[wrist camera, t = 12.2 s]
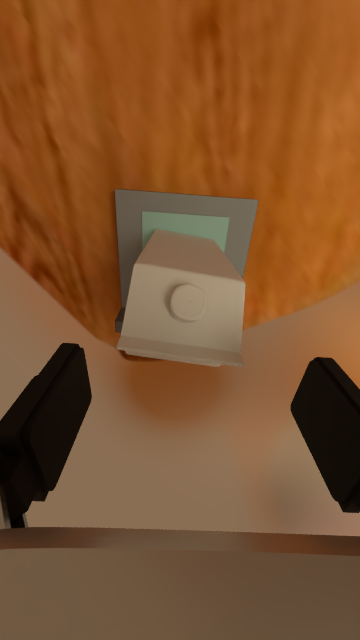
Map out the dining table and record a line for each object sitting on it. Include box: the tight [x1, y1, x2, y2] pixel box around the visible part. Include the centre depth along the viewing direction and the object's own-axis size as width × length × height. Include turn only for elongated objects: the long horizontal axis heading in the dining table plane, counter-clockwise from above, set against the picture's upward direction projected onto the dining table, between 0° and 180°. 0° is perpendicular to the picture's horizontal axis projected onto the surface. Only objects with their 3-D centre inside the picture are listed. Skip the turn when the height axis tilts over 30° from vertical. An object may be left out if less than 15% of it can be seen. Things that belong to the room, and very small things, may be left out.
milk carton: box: [117, 229, 245, 367], centre depth 21 cm, size 7×7×19 cm
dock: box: [115, 189, 258, 332], centre depth 30 cm, size 16×16×7 cm
